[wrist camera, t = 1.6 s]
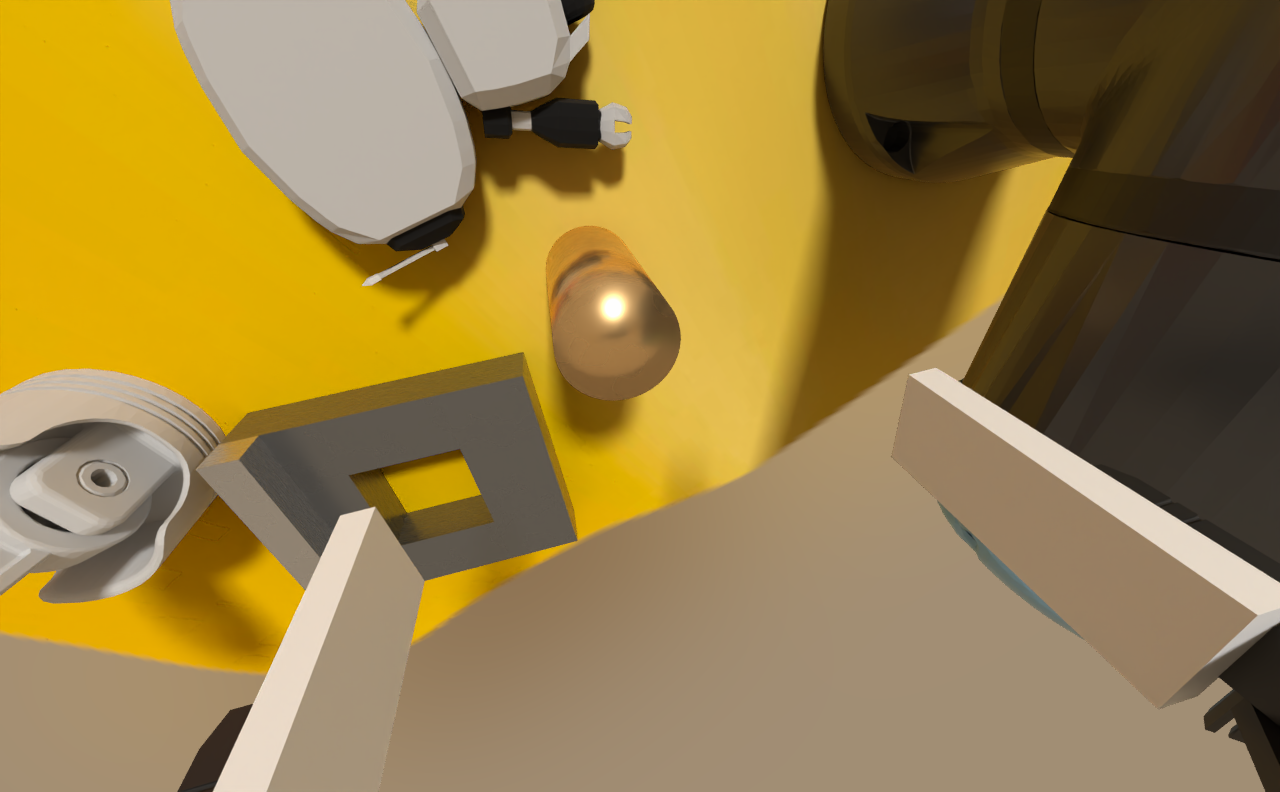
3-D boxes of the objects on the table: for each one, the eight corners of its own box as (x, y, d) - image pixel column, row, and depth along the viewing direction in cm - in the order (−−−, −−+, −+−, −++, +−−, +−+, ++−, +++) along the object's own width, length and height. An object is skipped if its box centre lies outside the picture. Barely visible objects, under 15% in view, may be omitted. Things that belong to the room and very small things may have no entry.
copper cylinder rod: (625, 217, 25) (673, 270, 17) (639, 303, 28) (685, 385, 20) (535, 235, 25) (538, 299, 16) (557, 320, 27) (570, 412, 19)
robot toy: (511, -193, 17) (148, -25, 17) (517, -281, 14) (51, -69, 13) (631, 146, 24) (373, 271, 24) (656, 150, 20) (351, 298, 20)
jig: (523, 352, 28) (522, 394, 24) (574, 510, 36) (579, 563, 31) (247, 413, 26) (195, 469, 22) (362, 564, 34) (339, 627, 30)
